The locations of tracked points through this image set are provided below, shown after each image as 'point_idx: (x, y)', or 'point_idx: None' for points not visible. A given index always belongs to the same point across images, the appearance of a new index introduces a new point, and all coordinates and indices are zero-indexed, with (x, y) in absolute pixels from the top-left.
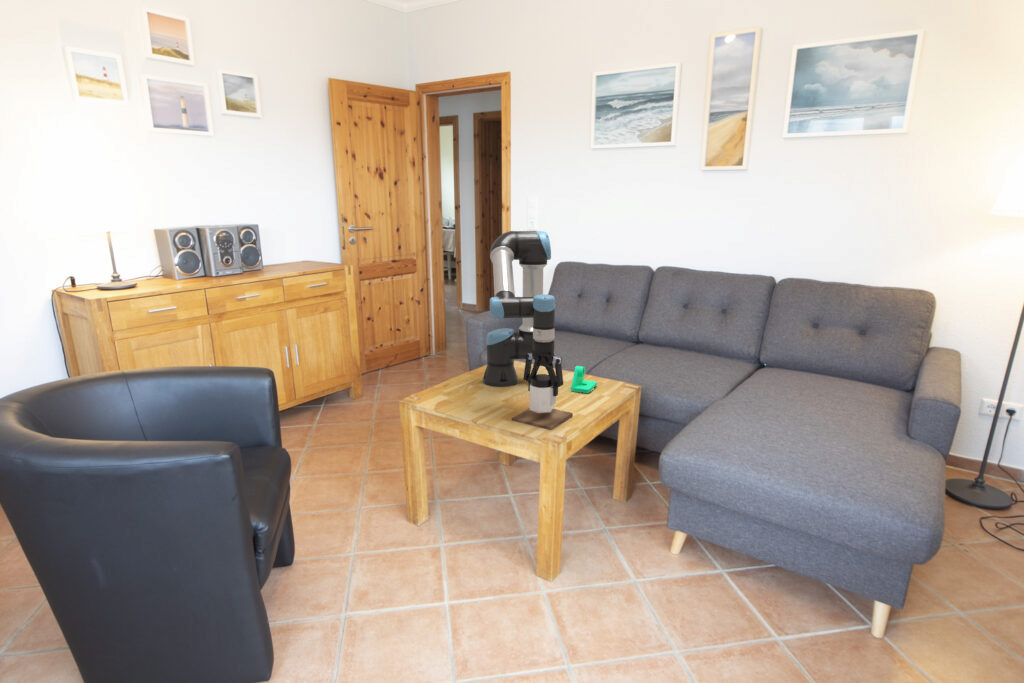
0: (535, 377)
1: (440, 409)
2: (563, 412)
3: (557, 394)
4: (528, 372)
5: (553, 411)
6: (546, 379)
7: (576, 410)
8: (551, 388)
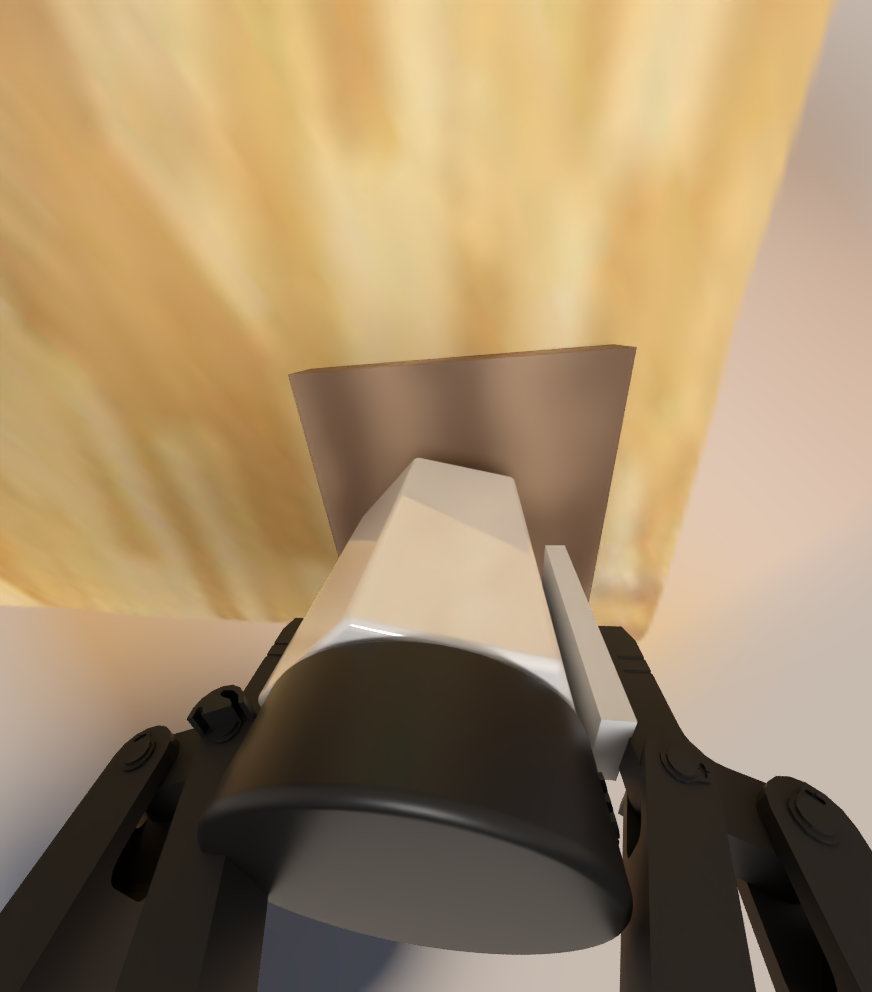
0: (324, 905)
1: (51, 594)
2: (559, 386)
3: (632, 648)
4: (108, 945)
5: (481, 414)
6: (537, 937)
7: (572, 85)
8: (597, 766)
